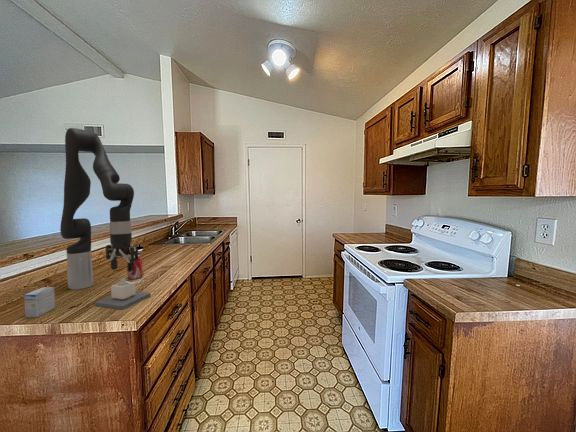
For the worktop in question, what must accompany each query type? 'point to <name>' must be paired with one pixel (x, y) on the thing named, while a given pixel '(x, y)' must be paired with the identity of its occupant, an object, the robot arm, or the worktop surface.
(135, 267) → the soda can
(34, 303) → the medicine box
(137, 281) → the scissors
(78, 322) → the worktop surface
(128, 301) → the post base
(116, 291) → the collar
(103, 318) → the worktop surface
